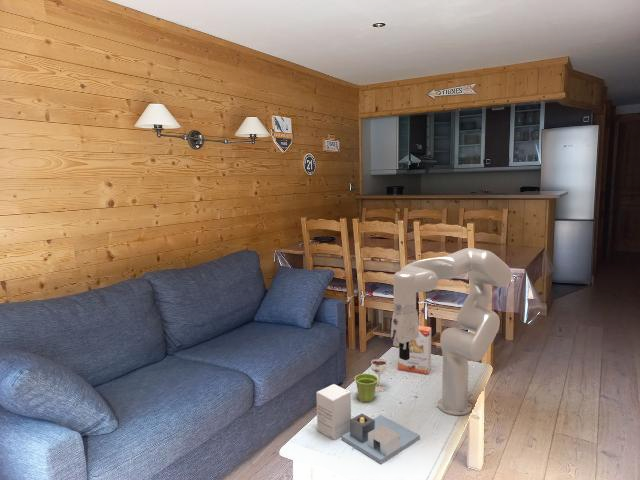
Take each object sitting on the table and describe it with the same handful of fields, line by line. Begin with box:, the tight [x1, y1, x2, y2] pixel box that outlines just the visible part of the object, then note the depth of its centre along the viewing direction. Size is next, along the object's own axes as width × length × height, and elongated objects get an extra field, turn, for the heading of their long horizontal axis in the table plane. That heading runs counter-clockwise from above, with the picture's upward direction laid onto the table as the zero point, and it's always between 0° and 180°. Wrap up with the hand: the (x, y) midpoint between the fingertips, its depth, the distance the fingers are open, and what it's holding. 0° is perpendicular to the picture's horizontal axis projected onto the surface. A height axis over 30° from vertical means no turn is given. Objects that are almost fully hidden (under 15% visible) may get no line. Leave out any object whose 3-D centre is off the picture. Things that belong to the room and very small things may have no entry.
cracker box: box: [397, 325, 432, 375], centre depth 210 cm, size 14×6×21 cm, turn 67°
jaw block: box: [349, 413, 375, 443], centre depth 158 cm, size 6×6×6 cm
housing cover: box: [368, 425, 400, 456], centre depth 152 cm, size 7×8×4 cm
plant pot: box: [354, 373, 379, 403], centre depth 186 cm, size 9×9×9 cm
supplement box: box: [315, 383, 352, 441], centre depth 164 cm, size 9×9×15 cm
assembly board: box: [341, 414, 421, 465], centre depth 158 cm, size 20×18×9 cm
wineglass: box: [370, 358, 388, 393], centre depth 194 cm, size 7×7×12 cm
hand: (404, 358), depth 159 cm, fingers closed
